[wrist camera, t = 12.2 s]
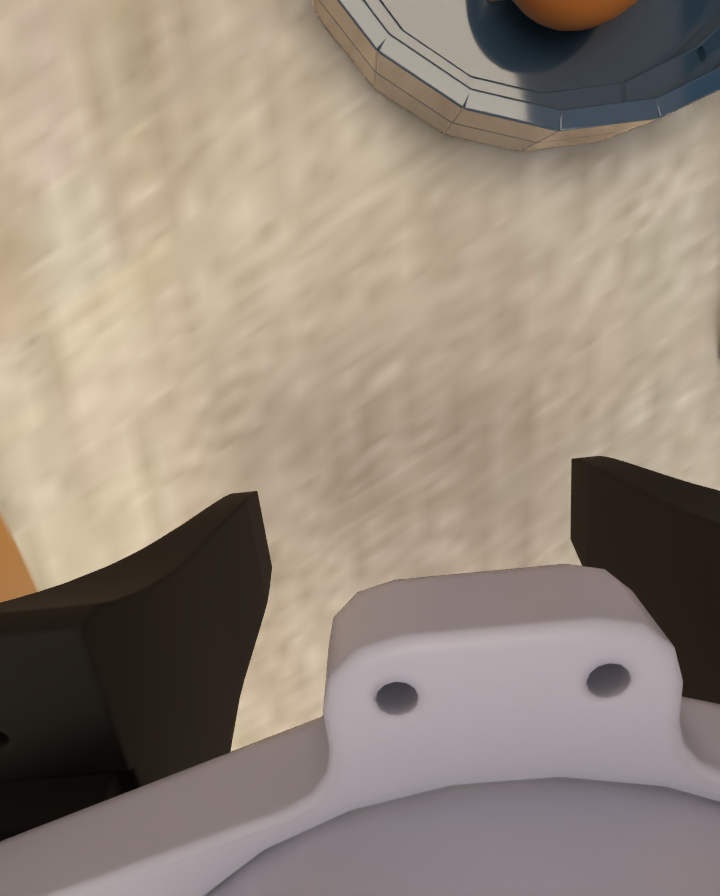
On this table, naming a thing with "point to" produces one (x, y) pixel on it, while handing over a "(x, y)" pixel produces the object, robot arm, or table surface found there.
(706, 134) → the table surface
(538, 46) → the bowl
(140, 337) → the table surface
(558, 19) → the bun
